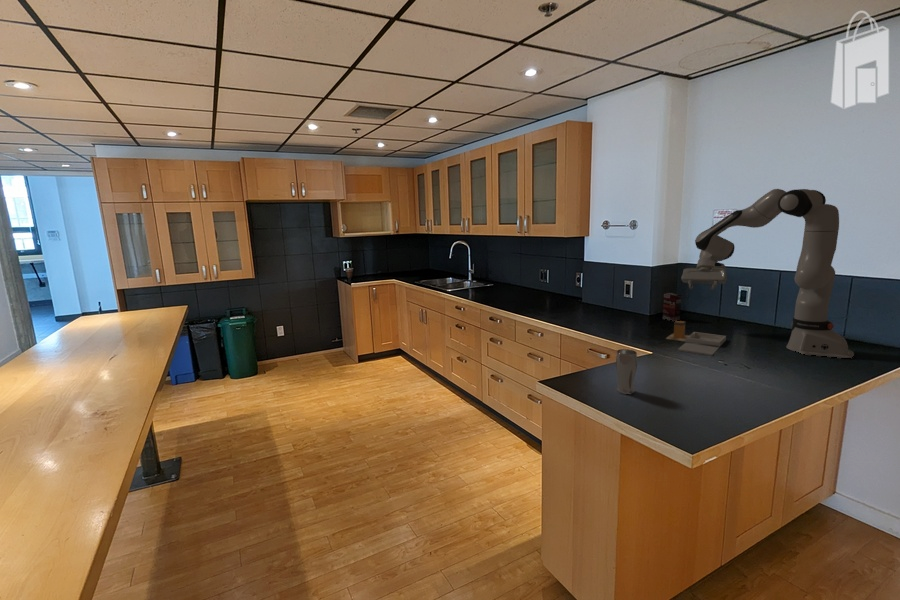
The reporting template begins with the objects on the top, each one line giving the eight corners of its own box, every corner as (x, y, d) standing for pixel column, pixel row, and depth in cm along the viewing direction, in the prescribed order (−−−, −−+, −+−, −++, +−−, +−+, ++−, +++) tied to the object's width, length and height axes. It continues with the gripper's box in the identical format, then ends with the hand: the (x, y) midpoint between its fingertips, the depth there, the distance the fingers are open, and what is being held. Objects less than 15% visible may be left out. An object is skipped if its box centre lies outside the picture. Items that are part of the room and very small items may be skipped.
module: (684, 336, 213) (685, 321, 211) (682, 338, 210) (683, 323, 208) (675, 335, 215) (676, 320, 214) (673, 337, 213) (674, 322, 211)
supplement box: (661, 319, 254) (663, 293, 251) (667, 318, 256) (668, 292, 253) (674, 321, 247) (676, 295, 244) (680, 320, 249) (681, 294, 246)
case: (725, 341, 205) (726, 335, 204) (712, 356, 185) (712, 349, 185) (693, 337, 214) (693, 331, 214) (677, 350, 195) (678, 344, 194)
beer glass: (618, 386, 157) (619, 347, 155) (638, 390, 153) (639, 350, 150) (612, 392, 152) (613, 352, 149) (632, 396, 148) (634, 356, 145)
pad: (691, 337, 214) (692, 335, 214) (685, 343, 205) (685, 341, 205) (672, 335, 220) (672, 333, 220) (665, 340, 212) (665, 338, 211)
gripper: (683, 263, 226) (677, 284, 221) (727, 264, 213) (723, 285, 207) (685, 271, 230) (679, 291, 225) (729, 271, 216) (724, 293, 211)
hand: (701, 288), depth 216 cm, fingers open, 8 cm apart
